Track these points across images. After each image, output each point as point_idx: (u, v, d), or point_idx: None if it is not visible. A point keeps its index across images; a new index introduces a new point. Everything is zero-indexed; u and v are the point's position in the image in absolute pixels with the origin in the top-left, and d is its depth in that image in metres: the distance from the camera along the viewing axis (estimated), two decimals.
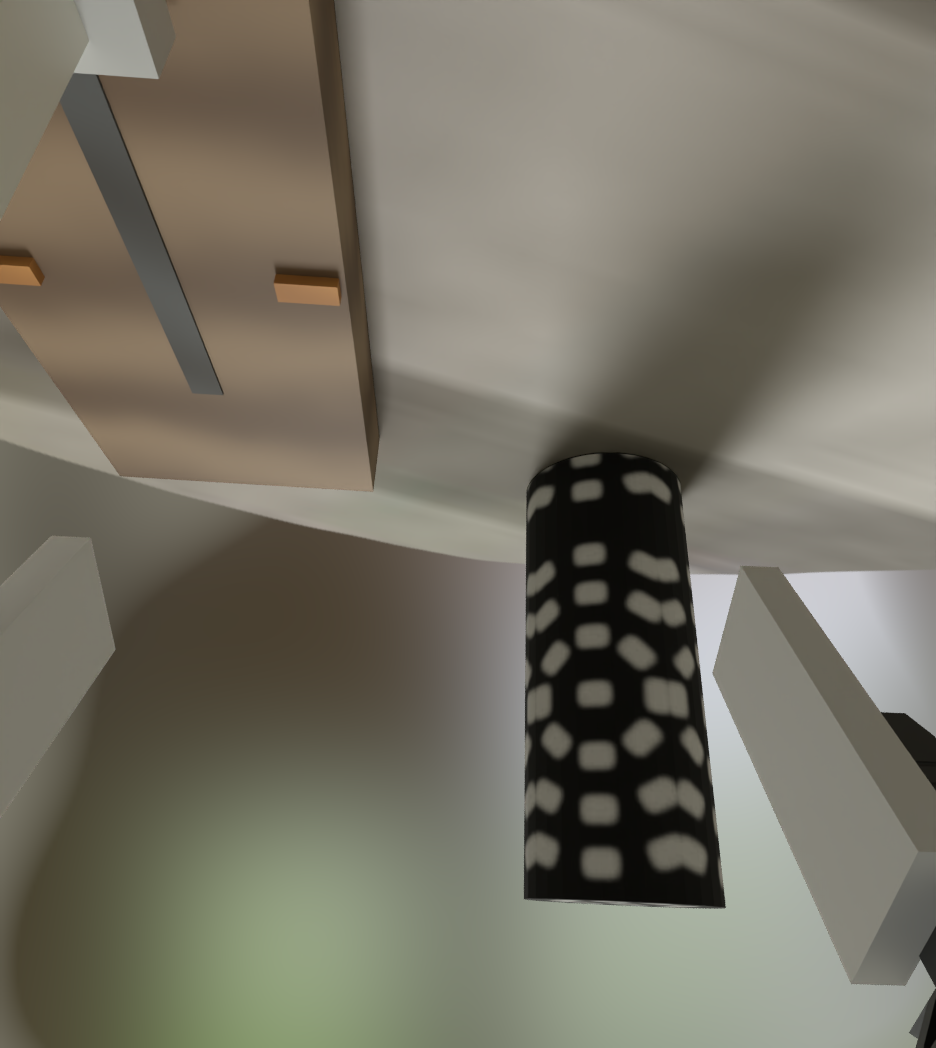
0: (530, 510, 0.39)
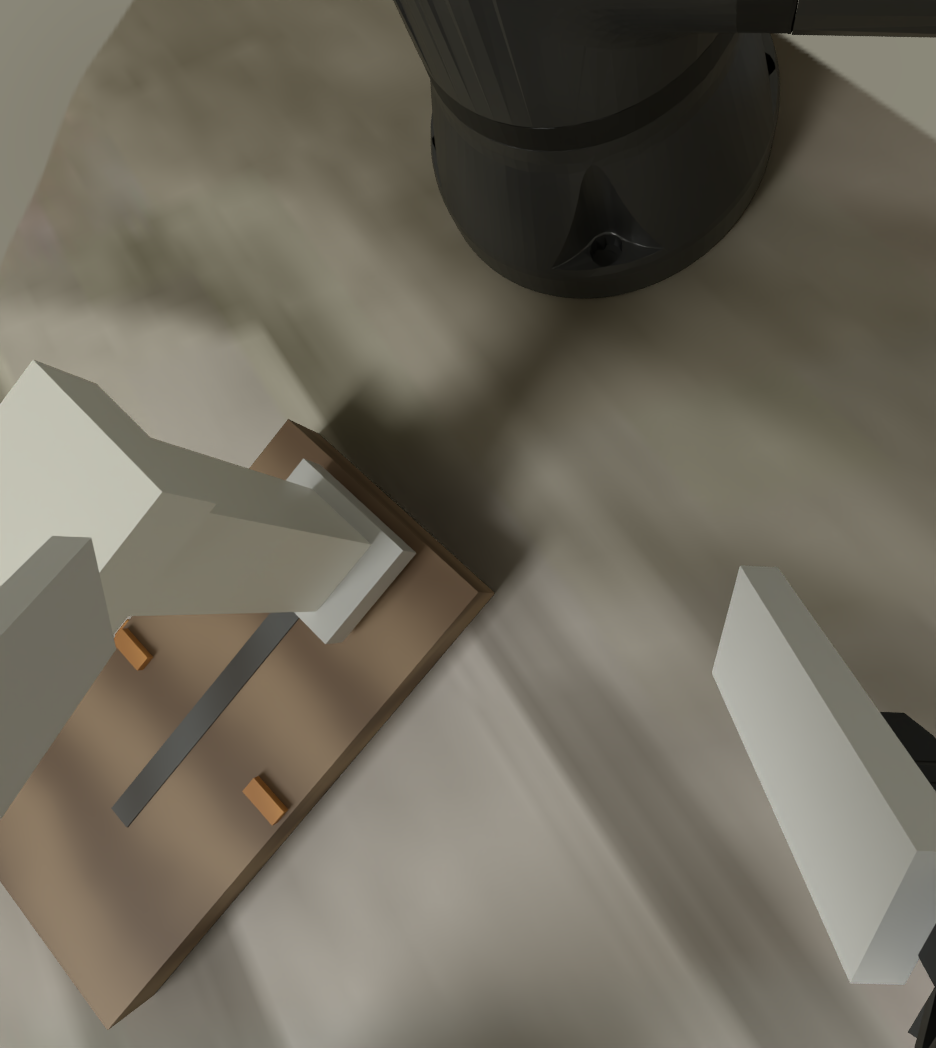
0: None
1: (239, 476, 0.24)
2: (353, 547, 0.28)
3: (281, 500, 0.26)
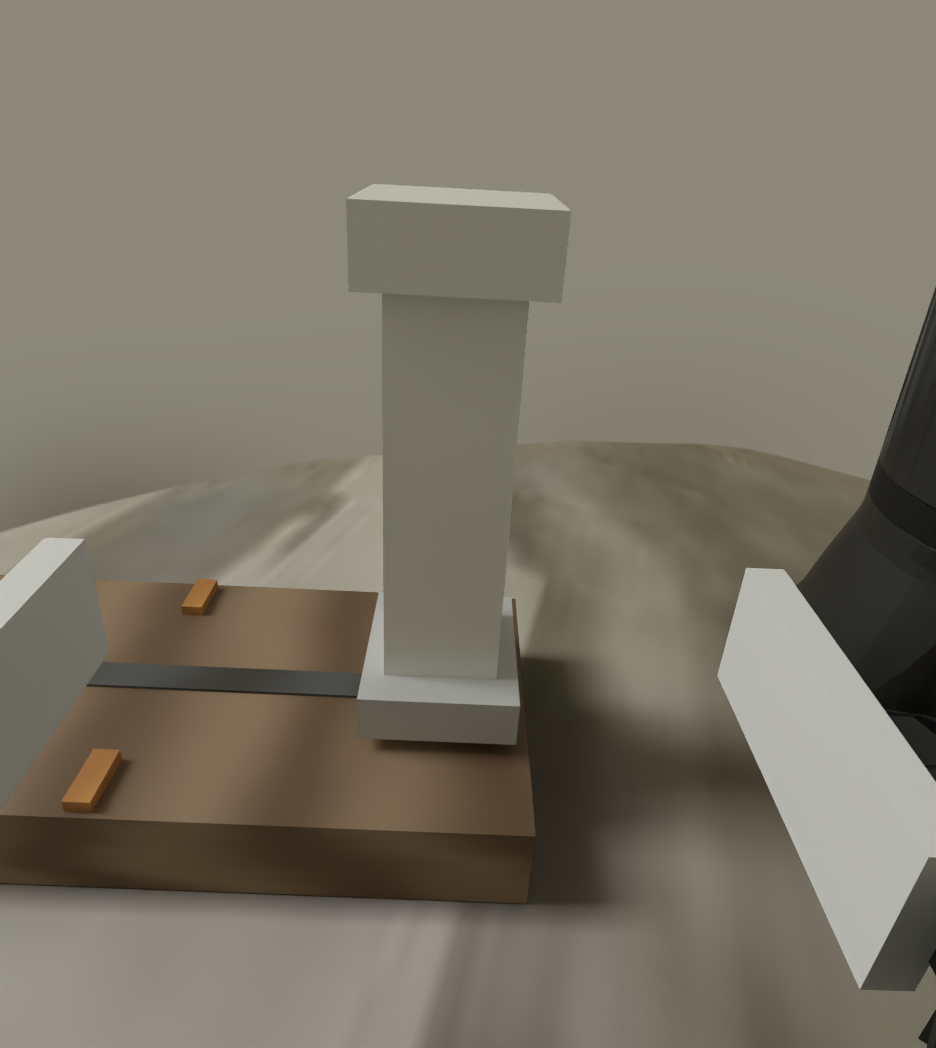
0: None
1: None
2: (490, 646, 0.23)
3: None
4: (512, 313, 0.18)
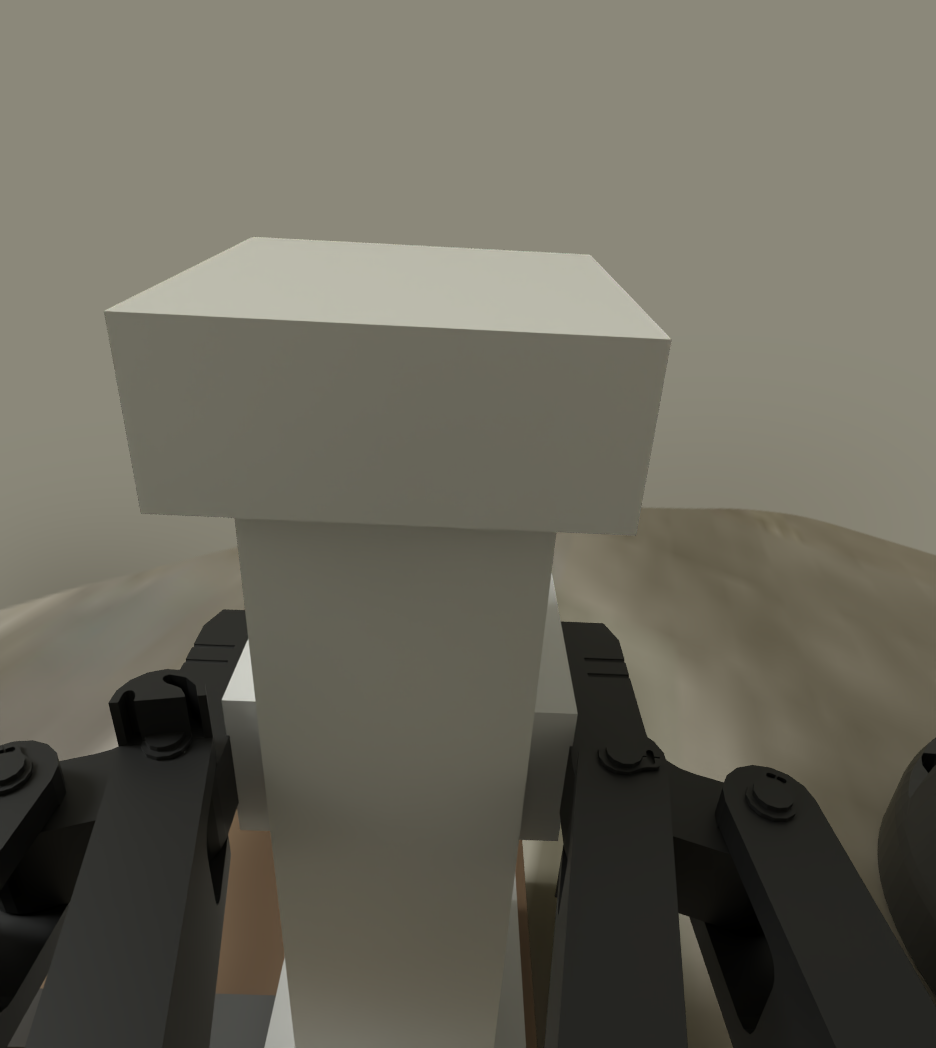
0: None
1: None
2: (479, 1035, 0.13)
3: None
4: (521, 536, 0.08)
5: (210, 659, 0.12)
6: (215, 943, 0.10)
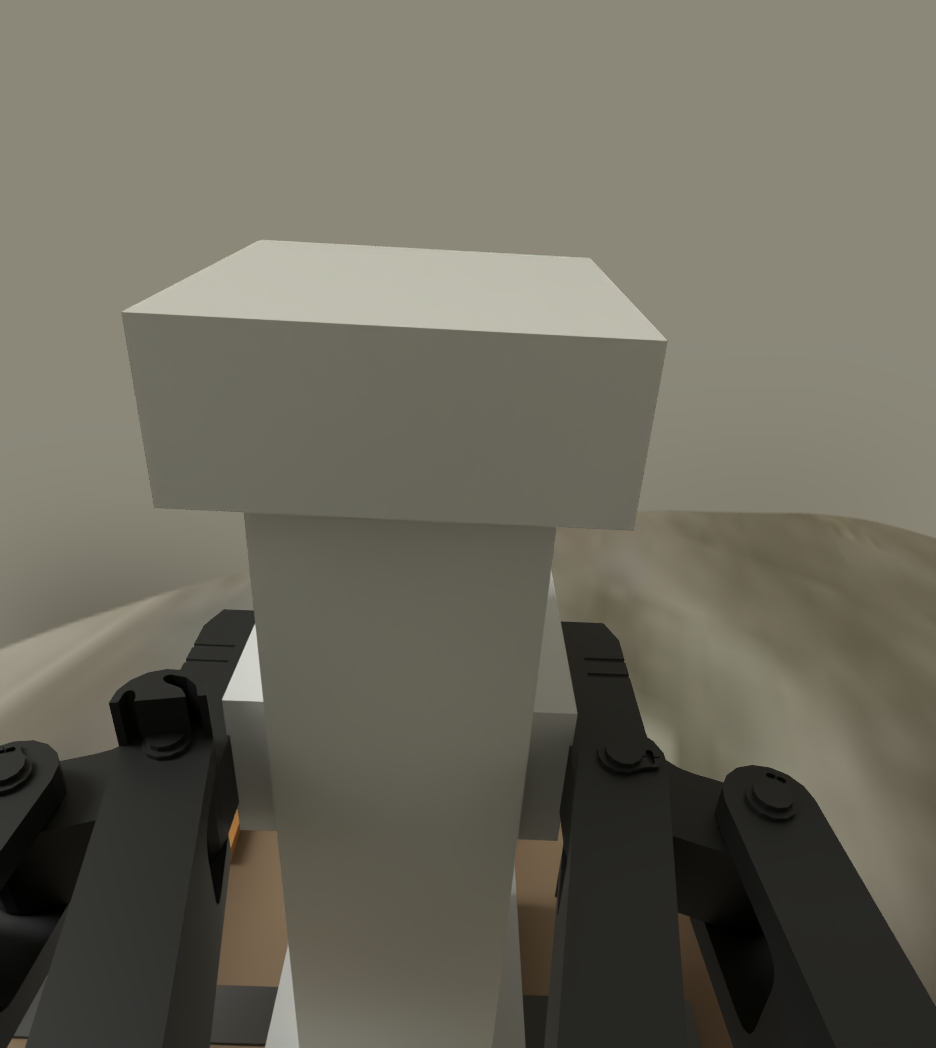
0: None
1: None
2: (478, 1024, 0.13)
3: None
4: (522, 531, 0.09)
5: (210, 659, 0.12)
6: (215, 943, 0.10)
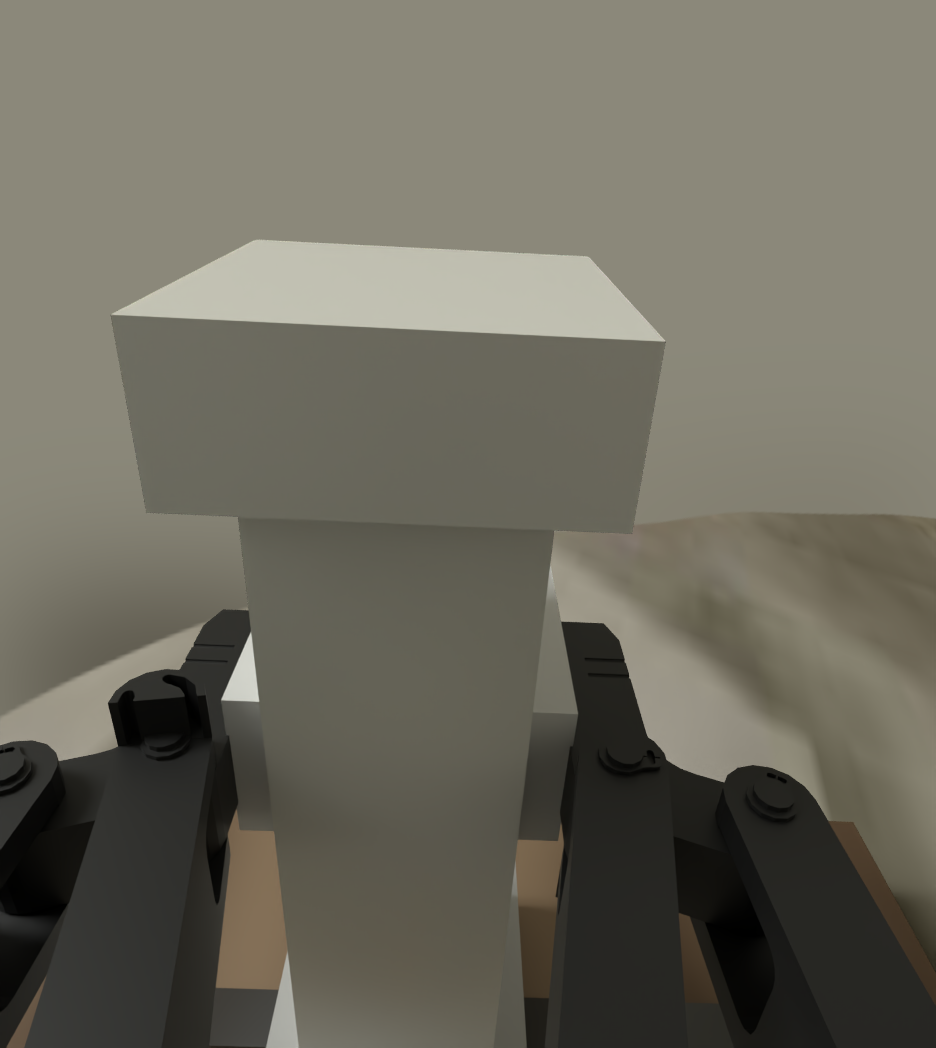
0: None
1: None
2: (480, 1028, 0.13)
3: None
4: (519, 534, 0.08)
5: (210, 659, 0.12)
6: (215, 943, 0.10)
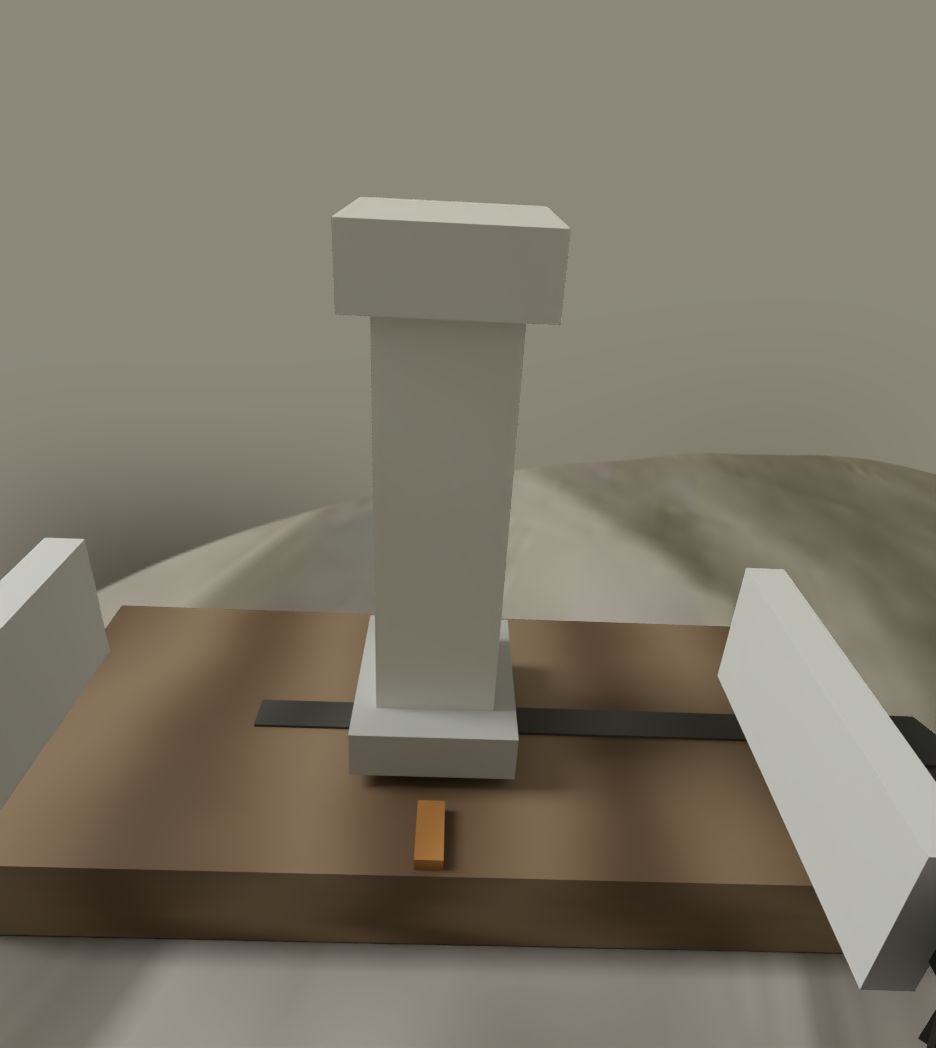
0: None
1: None
2: (486, 677, 0.22)
3: None
4: (508, 335, 0.17)
5: None
6: None
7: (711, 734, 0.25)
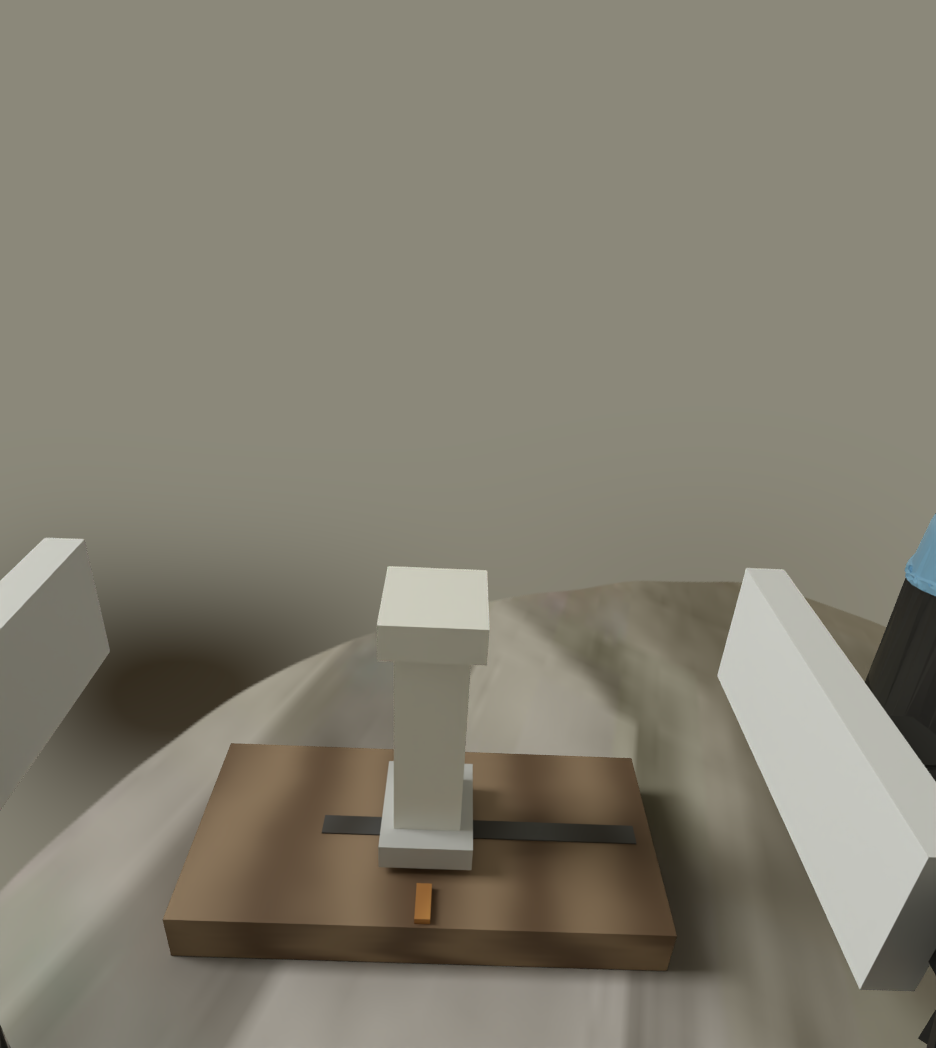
0: None
1: None
2: (455, 813, 0.39)
3: None
4: None
5: None
6: None
7: (591, 839, 0.42)
